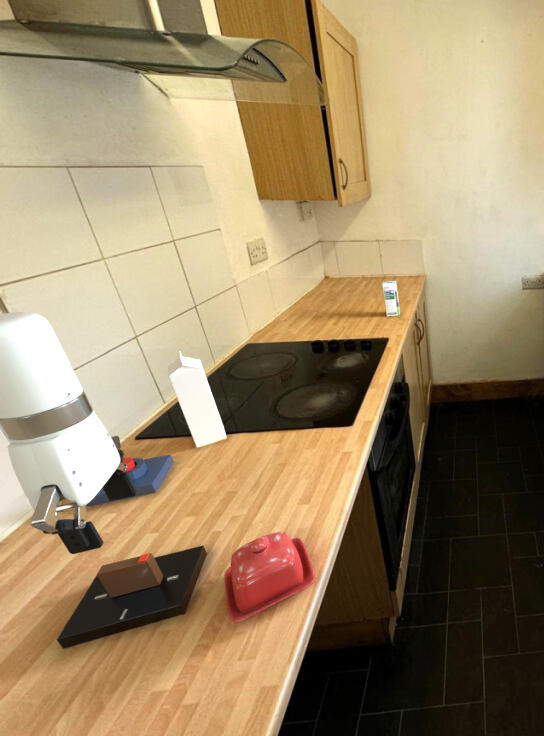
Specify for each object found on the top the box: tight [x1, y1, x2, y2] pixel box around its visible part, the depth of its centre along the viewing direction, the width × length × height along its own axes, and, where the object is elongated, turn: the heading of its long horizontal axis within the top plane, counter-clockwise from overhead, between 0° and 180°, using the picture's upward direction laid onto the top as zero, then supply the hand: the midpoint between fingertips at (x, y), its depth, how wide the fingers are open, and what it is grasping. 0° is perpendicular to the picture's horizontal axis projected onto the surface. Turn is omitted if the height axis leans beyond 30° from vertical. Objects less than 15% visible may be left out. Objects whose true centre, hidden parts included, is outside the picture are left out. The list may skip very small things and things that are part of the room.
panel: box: [56, 545, 208, 650], centre depth 62 cm, size 14×11×2 cm
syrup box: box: [381, 280, 401, 318], centre depth 180 cm, size 6×6×14 cm
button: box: [123, 456, 135, 472], centre depth 84 cm, size 4×4×2 cm
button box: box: [86, 454, 175, 508], centre depth 85 cm, size 12×10×4 cm
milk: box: [167, 350, 227, 449], centre depth 96 cm, size 6×6×22 cm
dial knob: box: [96, 552, 163, 598], centre depth 61 cm, size 6×2×5 cm, turn 110°
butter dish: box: [223, 531, 316, 624], centre depth 63 cm, size 12×12×8 cm
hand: (107, 521), depth 57 cm, fingers open, 9 cm apart
